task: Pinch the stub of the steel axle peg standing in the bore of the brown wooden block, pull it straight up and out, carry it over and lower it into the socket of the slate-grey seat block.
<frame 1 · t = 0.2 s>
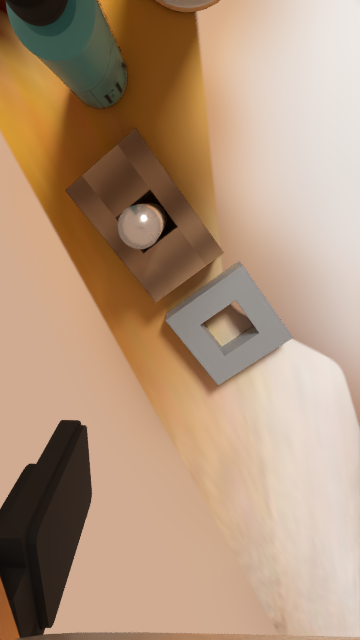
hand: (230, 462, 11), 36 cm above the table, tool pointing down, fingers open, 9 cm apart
axle peg: (145, 223, 38), in the brown wooden block
seat block: (226, 321, 48), on the table
beverage bottle: (101, 80, 38), on the table
brown wooden block: (150, 219, 43), on the table
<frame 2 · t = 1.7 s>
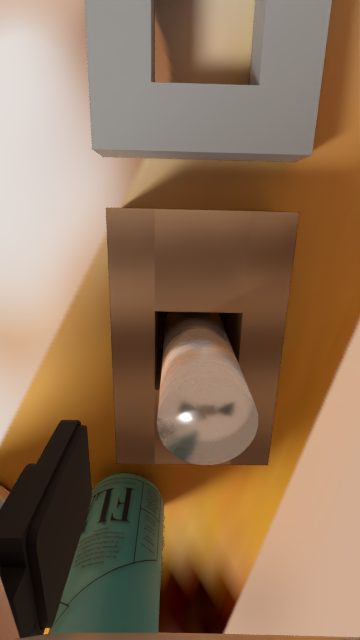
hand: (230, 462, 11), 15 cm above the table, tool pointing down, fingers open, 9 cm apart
axle peg: (198, 359, 19), in the brown wooden block
seat block: (203, 45, 20), on the table
beverage bottle: (129, 487, 30), on the table
brown wooden block: (193, 325, 25), on the table
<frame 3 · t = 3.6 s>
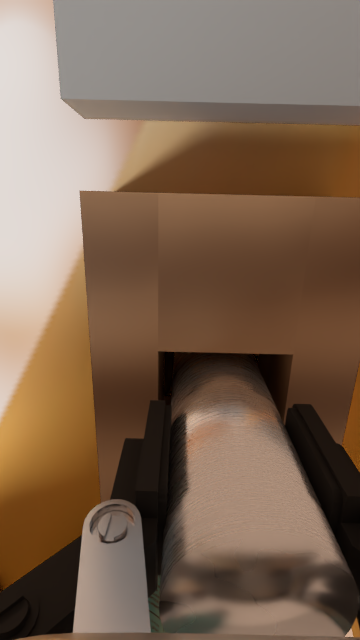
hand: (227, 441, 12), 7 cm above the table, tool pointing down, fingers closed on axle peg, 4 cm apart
axle peg: (224, 426, 13), in the brown wooden block, touching gripper
beverage bottle: (126, 554, 23), on the table
brown wooden block: (211, 356, 18), on the table
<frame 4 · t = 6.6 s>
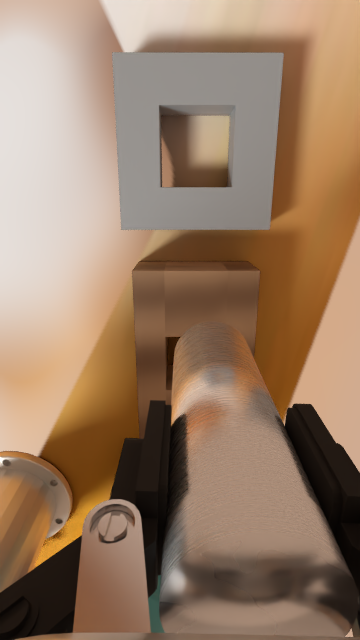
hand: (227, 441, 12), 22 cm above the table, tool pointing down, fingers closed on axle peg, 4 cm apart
axle peg: (224, 426, 13), point 21 cm above the table, touching gripper
seat block: (194, 153, 29), on the table
beverage bottle: (147, 464, 39), on the table
brown wooden block: (192, 342, 34), on the table
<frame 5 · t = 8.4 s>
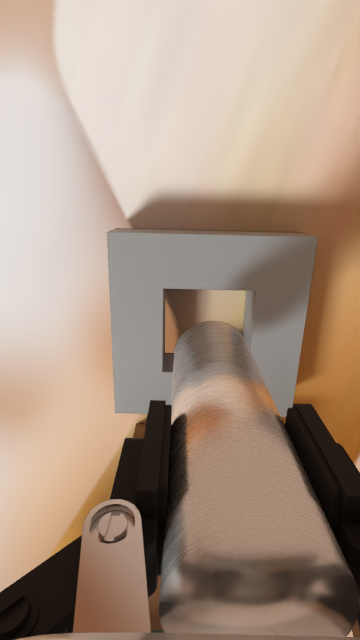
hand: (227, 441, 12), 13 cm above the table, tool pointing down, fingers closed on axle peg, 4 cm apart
axle peg: (224, 426, 13), point 12 cm above the table, touching gripper
seat block: (204, 317, 24), on the table
brown wooden block: (195, 502, 30), on the table
when the fingers open (8 cm above the table, at t = 9.8 s): axle peg drops 1 cm, resting in seat block.
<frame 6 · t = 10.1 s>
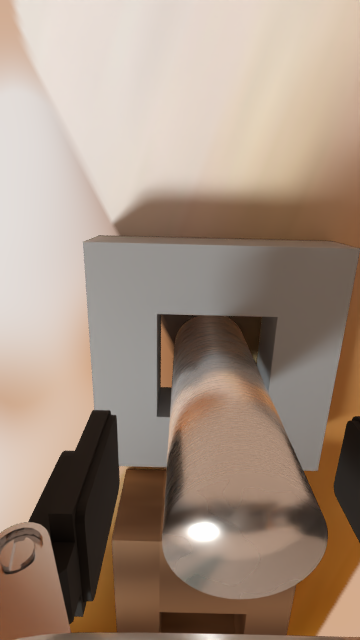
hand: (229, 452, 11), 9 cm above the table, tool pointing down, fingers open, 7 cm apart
axle peg: (219, 404, 14), in the seat block
seat block: (209, 345, 20), on the table
brown wooden block: (197, 558, 25), on the table
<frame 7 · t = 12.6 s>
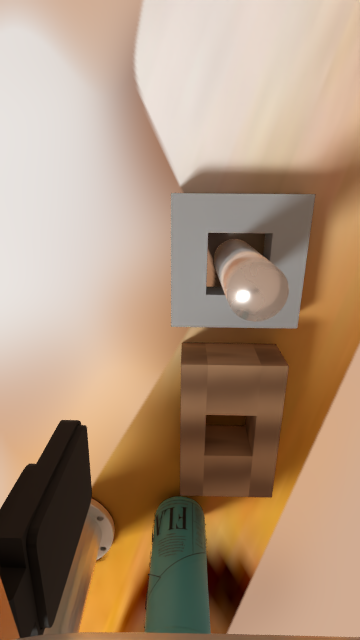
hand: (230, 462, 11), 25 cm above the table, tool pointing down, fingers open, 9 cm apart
axle peg: (243, 272, 28), in the seat block
seat block: (233, 259, 34), on the table
beverage bottle: (180, 503, 45), on the table
brown wooden block: (224, 407, 39), on the table
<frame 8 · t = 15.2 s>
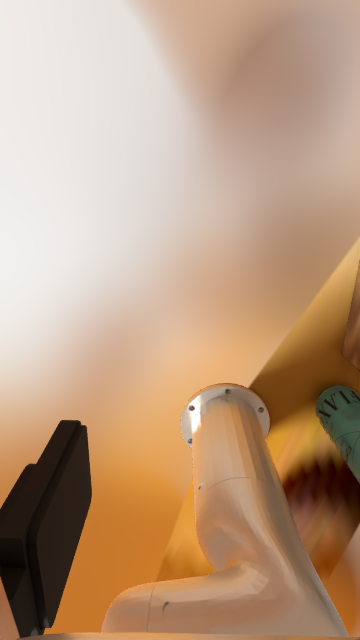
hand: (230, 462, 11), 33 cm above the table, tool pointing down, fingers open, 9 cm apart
beverage bottle: (332, 398, 48), on the table
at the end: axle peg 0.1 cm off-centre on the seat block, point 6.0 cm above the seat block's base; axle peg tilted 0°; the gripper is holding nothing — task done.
